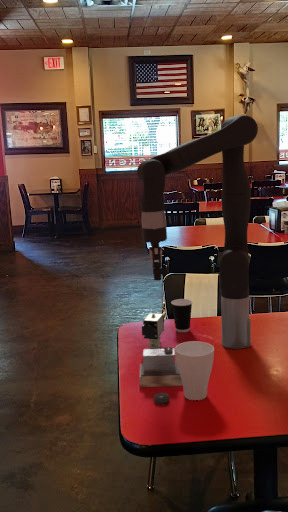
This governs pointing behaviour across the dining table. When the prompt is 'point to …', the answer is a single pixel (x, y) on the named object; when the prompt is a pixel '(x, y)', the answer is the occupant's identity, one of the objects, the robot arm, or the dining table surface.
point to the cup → (194, 367)
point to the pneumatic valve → (153, 329)
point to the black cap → (161, 398)
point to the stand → (159, 378)
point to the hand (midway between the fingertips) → (157, 276)
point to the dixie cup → (182, 314)
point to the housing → (159, 360)
